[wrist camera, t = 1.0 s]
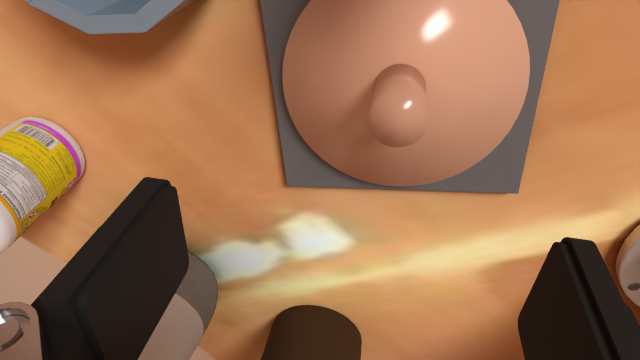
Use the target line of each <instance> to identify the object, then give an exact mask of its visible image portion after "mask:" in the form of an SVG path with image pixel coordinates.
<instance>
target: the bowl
mask: <svg viewBox="0 0 640 360" xmlns="http://www.w3.org/2000/svg"><path fill="white" fill-rule="evenodd" d="M25 1H26V2H27V3H28V4H29V5H31V6H33V7H35V8H37V9H39V10H41V11H43V12H45V13H47V14H49V15H51V16H53V17H55V18H57V19H59V20H61V21H63V22H65V23H67V24H69V25H71V26H73V27H75V28H77V29H80V30H82V31H84V32H86V33H88V34H110V33H140V32H147V31H149V30H150V29H152V28H153V27H155V26H156V25H158V24H160V23H161V22H163V21H164V20H166V19H168V18H169V17H171V16H172V15H174V14H176V13H177V12H179V11H180V10H182V9H183V8H185V7H186V6H188V5H189V4H190V3H191V2H193V1H194V0H25Z"/></svg>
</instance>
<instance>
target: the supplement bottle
mask: <svg viewBox="0 0 640 360" xmlns="http://www.w3.org/2000/svg"><path fill="white" fill-rule="evenodd" d="M84 169H85V159H84V155H83V152H82V150H81V148H80V146H79V145H78V143H77V142H76V141H75V139H74V138H73V137H72V136H71V135H70V134H69V133H68V132H67V131H66V130H64V129H63V128H62V127H60V126H59V125H57V124H55V123H53V122H51V121H49V120H46V119H43V118H38V117H24V118H20V119H18V120H16V121H14V122H12V123H11V124H9V125H8V126H6V127H5V128H3V129H1V130H0V253H2V252H3V251H4V250H6V249H7V248H8V247H9V246H10V245H11V244H13V243H14V242H15V241H16V239H18V238H19V237H20V236H21V235H22V234H23V233H24V232H25V231H26V230H27V229H28V228H29V227H30V226H31V225H32V224H33V223H34V222H35V221H36V220H37V219H39V218H40V217H41V216H42V215H43V214H44V213H45V212H46V211H47V210H48V209H49V208H50V207H51V206H52V205H53V204H54V203H55V202H56V201H57V200H58V199H59V198H60V197H62V196H63V195H64V194H65V193H66V192H67V191H68V190H69V189H70V188H71V187H72V186H73V185H74V184H75V183H76V182H77V181H78V180H79V179H80V177H81V176H82V174H83V172H84Z"/></svg>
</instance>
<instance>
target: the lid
mask: <svg viewBox="0 0 640 360" xmlns="http://www.w3.org/2000/svg"><path fill="white" fill-rule="evenodd" d="M529 76H530V55H529V50H528V44H527V39H526V36H525V33H524V30H523V28H522V25H521V22H520V21H519V19H518V17H517V15H516V13H515V11H514V9H513V8H512V6H511V5H510V4H509V2H508V1H507V0H310V2H309V3H308V5H307V6H306V7H305V9H304V10H303V12H302V13H301V14H300V16H299V18H298V19H297V21H296V23H295V25H294V27H293V29H292V31H291V34H290V37H289V40H288V42H287V45H286V50H285V54H284V59H283V71H282V79H283V91H284V96H285V101H286V105H287V108H288V111H289V114H290V116H291V118H292V120H293V122H294V125H295V127H296V129H297V130H298V132H299V133H300V135H301V136H302V138H303V139H304V140H305V142H306V143H307V144H308V145H309V146H310V147H311V149H312V150H313V151H314V152H315V153H316V154H318V155H319V156H320V157H321V158H322V159H323V160H324V161H326V162H327V163H329V164H330V165H331V166H333V167H334V168H336V169H338V170H340V171H341V172H343V173H345V174H347V175H350V176H352V177H354V178H357V179H360V180H363V181H366V182H369V183H374V184H379V185H385V186H417V185H425V184H429V183H433V182H438V181H441V180H444V179H447V178H450V177H452V176H455V175H457V174H459V173H461V172H463V171H465V170H467V169H468V168H470V167H472V166H473V165H475V164H476V163H478V162H479V161H481V160H482V159H483V158H484V157H486V156H487V155H488V154H489V153H491V152H492V151H493V150H494V149H495V148H496V147H497V146H498V145H499V144H500V143H501V141H502V140H503V139H504V137H505V136H506V135H507V134H508V132H509V131H510V130H511V128H512V126H513V124H514V123H515V121H516V119H517V118H518V116H519V113H520V111H521V109H522V106H523V104H524V101H525V97H526V93H527V90H528V84H529Z"/></svg>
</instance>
